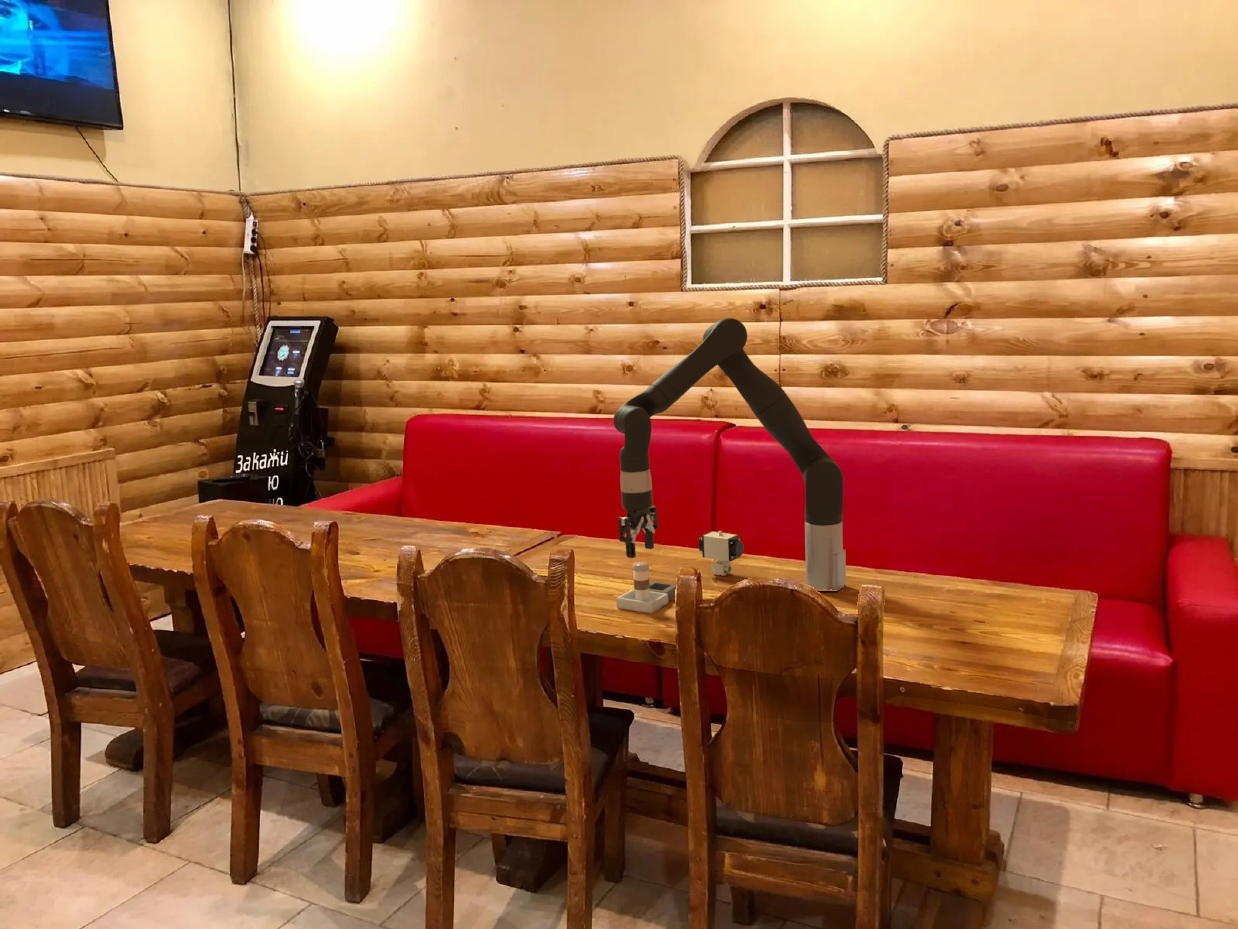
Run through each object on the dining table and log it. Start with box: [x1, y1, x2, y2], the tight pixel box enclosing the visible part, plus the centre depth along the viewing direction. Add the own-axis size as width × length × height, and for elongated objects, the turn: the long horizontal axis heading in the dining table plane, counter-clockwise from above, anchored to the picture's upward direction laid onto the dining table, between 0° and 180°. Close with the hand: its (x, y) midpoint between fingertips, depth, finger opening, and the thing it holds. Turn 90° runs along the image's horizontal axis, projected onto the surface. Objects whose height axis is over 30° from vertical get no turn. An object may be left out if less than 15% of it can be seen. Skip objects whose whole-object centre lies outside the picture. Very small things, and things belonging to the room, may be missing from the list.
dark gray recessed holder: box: [649, 580, 676, 602], centre depth 240 cm, size 8×7×2 cm
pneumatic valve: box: [697, 530, 744, 577], centre depth 255 cm, size 6×12×12 cm, turn 53°
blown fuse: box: [632, 561, 651, 602], centre depth 233 cm, size 4×4×10 cm
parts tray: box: [615, 588, 669, 614], centre depth 234 cm, size 10×8×2 cm
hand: (640, 553), depth 231 cm, fingers open, 8 cm apart
